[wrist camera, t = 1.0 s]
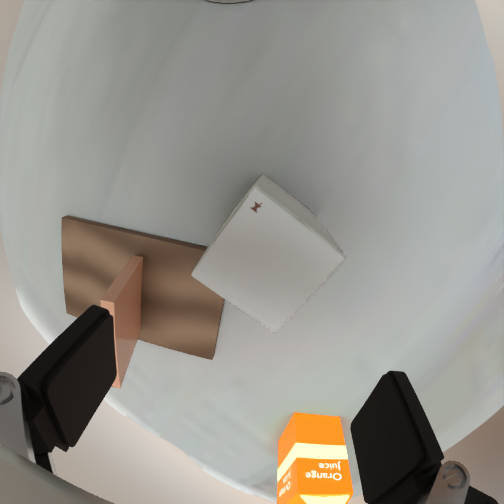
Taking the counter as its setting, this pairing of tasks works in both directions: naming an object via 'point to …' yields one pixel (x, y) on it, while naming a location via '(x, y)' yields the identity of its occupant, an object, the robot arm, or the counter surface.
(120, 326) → the tile
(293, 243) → the supplement box
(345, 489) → the orange juice
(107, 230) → the board
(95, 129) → the counter surface
